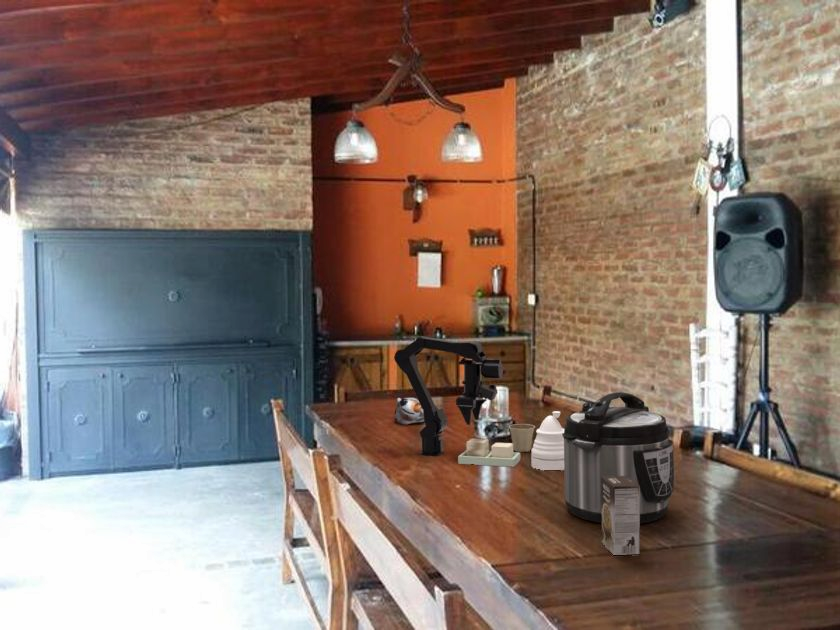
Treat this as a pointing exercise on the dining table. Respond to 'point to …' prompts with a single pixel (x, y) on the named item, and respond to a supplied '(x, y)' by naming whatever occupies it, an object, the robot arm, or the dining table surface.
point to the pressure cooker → (617, 455)
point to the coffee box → (620, 515)
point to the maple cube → (477, 447)
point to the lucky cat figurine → (408, 411)
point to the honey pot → (549, 445)
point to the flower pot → (522, 436)
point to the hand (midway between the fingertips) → (472, 422)
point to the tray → (493, 456)
